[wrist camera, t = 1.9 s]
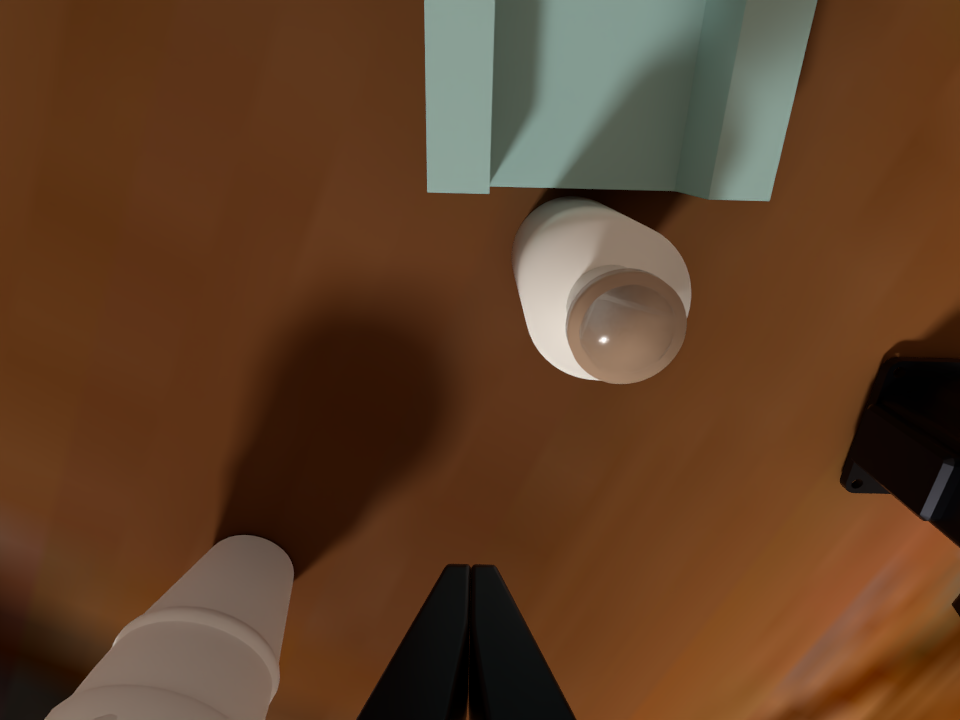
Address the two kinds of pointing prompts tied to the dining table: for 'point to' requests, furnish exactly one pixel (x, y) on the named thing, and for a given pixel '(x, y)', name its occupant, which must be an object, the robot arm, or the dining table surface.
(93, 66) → the dining table surface
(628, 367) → the bottle
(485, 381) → the dining table surface
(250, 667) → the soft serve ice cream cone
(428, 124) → the teal rectangular tray
